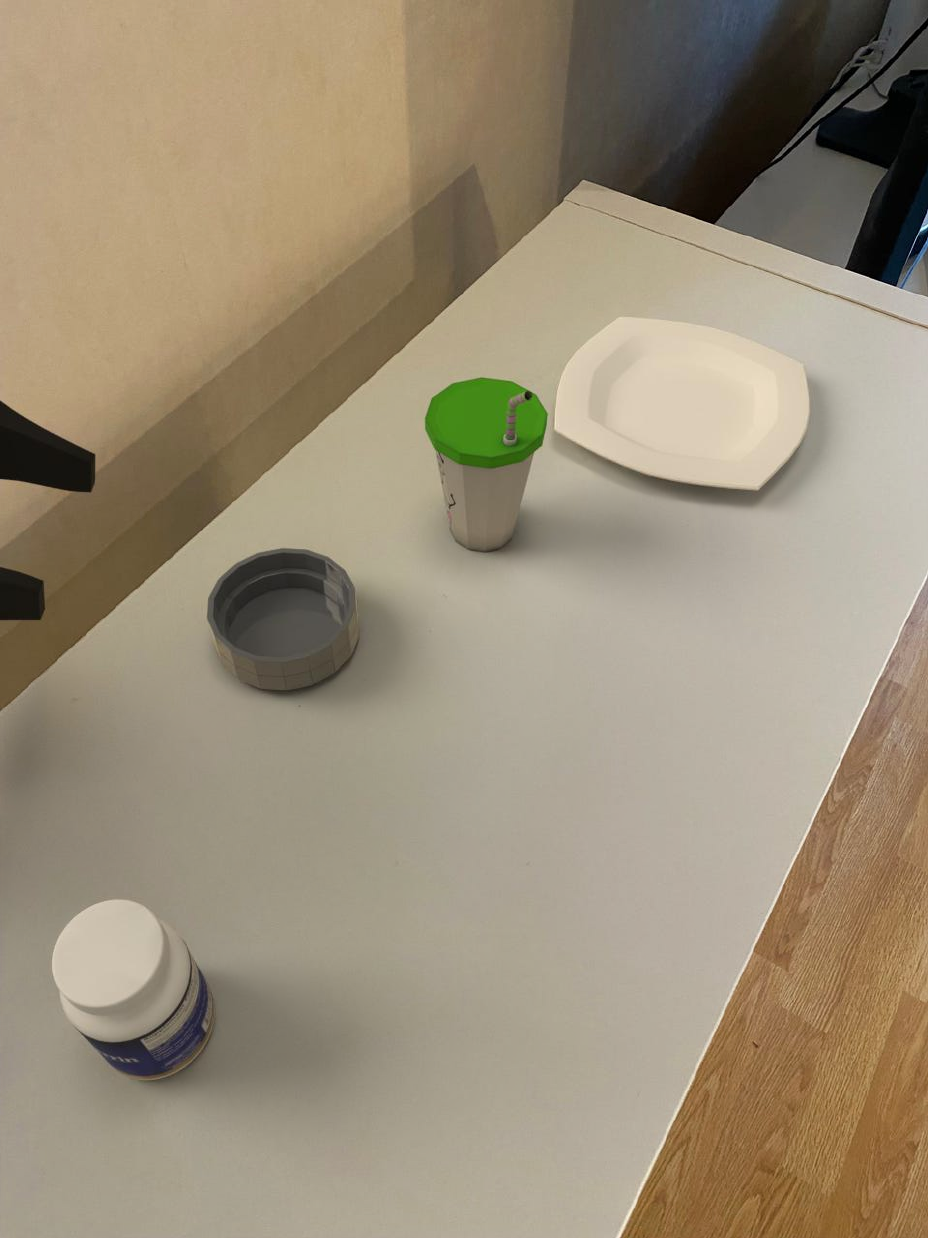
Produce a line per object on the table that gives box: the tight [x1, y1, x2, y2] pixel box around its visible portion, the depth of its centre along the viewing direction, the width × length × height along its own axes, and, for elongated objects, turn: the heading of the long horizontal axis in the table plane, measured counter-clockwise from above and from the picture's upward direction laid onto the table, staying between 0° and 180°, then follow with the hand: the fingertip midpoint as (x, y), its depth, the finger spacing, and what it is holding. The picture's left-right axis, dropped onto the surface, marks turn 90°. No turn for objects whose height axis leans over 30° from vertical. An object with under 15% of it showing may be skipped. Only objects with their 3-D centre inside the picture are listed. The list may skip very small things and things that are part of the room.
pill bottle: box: [51, 898, 216, 1081], centre depth 47 cm, size 6×6×10 cm
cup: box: [424, 376, 549, 553], centre depth 67 cm, size 8×8×15 cm
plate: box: [553, 316, 811, 491], centre depth 80 cm, size 19×19×2 cm
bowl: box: [206, 547, 360, 691], centre depth 65 cm, size 9×9×4 cm
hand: (69, 533), depth 45 cm, fingers open, 7 cm apart
